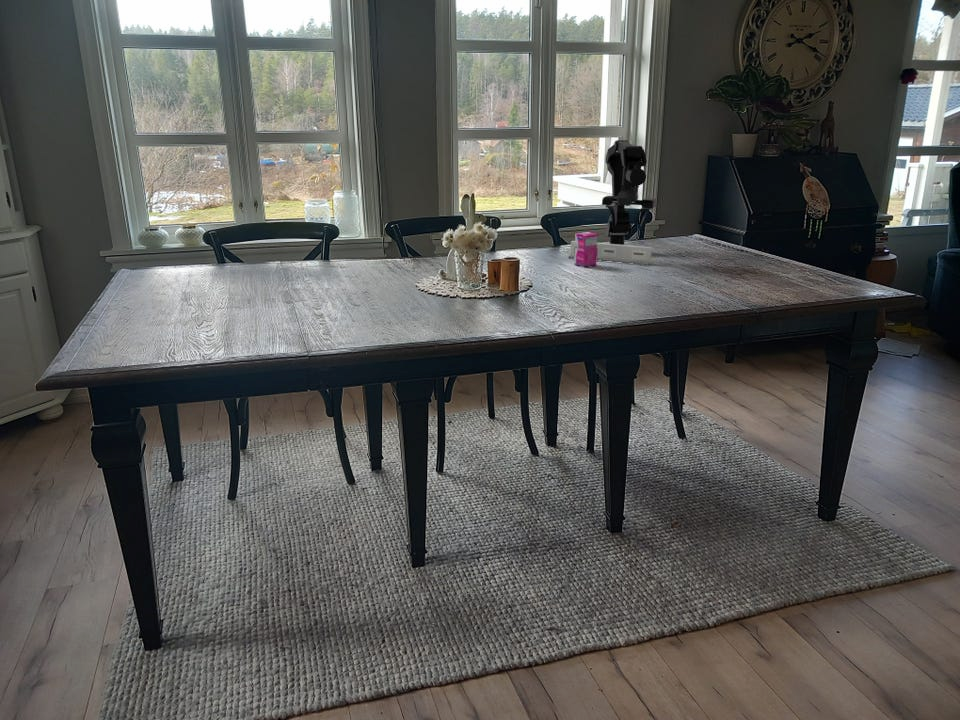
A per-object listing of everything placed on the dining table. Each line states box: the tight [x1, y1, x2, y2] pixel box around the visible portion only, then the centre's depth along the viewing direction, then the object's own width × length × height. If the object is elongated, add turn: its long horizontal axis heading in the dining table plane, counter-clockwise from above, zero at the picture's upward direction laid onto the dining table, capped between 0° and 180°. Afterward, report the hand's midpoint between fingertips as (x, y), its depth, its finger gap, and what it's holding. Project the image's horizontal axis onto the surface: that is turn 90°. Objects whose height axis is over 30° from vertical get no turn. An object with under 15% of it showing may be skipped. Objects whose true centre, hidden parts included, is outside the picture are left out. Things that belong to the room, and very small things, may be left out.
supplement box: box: [573, 231, 598, 268], centre depth 255 cm, size 6×6×12 cm
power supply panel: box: [568, 240, 653, 266], centre depth 264 cm, size 6×30×6 cm, turn 62°
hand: (627, 225), depth 263 cm, fingers open, 9 cm apart
